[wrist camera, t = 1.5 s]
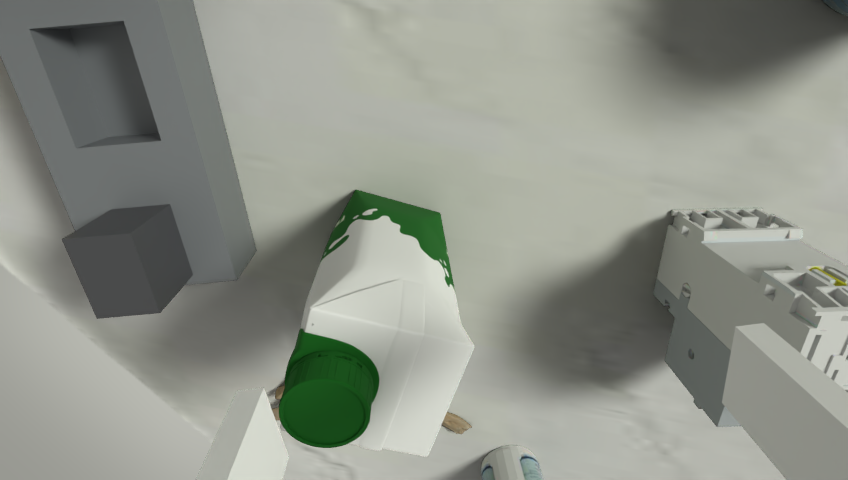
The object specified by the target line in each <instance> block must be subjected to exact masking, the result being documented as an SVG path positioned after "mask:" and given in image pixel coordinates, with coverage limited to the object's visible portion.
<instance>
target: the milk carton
mask: <svg viewBox="0 0 848 480" xmlns="http://www.w3.org/2000/svg"><path fill="white" fill-rule="evenodd" d="M474 347H475V346H474V344H473V343H472V341H471V339H470V338H469V336H468V334H467V333H466V331H465V330H464V328H463V326H462V325H461V320H460V315H459V310H458V305H457V299H456V294H455V289H454V284H453V279H452V274H451V268H450V263H449V258H448V252H447V247H446V242H445V236H444V231H443V226H442V220H441V215H440V213H439V212H435V211H431V210H428V209H424V208H421V207H417V206H413V205H410V204H406V203H402V202H399V201H395V200H392V199H388V198H384V197H381V196H377V195H374V194H370V193H366V192H363V191H359V190H355V192H354V194H353V195H352V197H351V199H350V201H349V203H348V204H347V206H346V208H345V210H344V211H343V213H342V215H341V217H340V219H339V220H338V222H337V224H336V226H335V228H334V230H333V232H332V234H331V236H330V239H329V241H328V243H327V246H326V249H325V251H324V254H323V257H322V259H321V262H320V265H319V268H318V270H317V273H316V276H315V279H314V281H313V284H312V287H311V289H310V292H309V295H308V298H307V301H306V305H305V309H304V313H303V318H302V323H301V328H300V331H299V334H298V338H297V342H296V346H295V349H294V351H293V353H292V355H291V357H290V360H289V362H288V366H287V370H286V376H285V388H284V391H283V394H282V397H281V400H280V403H279V418H280V421H281V425H280V428H281V430H282V431H287V432H288V433H289V434H290V435H291V436H292V437H293V438H295V439H296V440H298V441H300V442H302V443H304V444H307V445H310V446H314V447H321V448H332V447H339V446H343V445H346V444H350V445H355V446H359V447H361V448H364V449H368V450H374V451H381V450H382V449H387V450H392V451H397V452H402V453H407V454H413V455H418V456H423V457H428V455H429V453H430V450H431V448H432V446H433V443H434V441H435V438H436V436H437V434H438V431H439V429H440V427H441V424H442V422H443V420H444V417H445V415H446V413H447V410H448V408H449V406H450V403H451V401H452V399H453V396H454V394H455V392H456V389H457V387H458V385H459V382H460V380H461V378H462V375H463V373H464V371H465V368H466V366H467V364H468V361H469V359H470V357H471V354H472V352H473V349H474Z"/></svg>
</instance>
